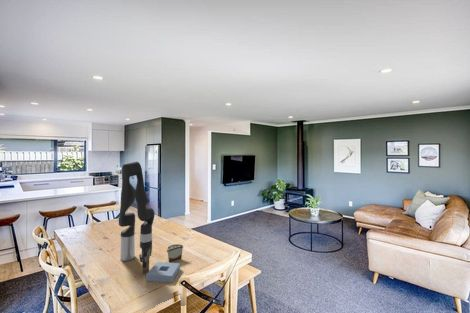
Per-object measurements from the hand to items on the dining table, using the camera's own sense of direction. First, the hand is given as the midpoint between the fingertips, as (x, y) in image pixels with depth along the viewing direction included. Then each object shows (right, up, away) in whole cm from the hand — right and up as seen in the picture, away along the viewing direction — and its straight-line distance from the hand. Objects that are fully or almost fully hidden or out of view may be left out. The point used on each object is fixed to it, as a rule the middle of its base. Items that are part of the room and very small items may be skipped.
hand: (145, 265), depth 151 cm
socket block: (+13, -5, -3) cm, 14 cm away
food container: (+13, -4, +18) cm, 23 cm away
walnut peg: (0, -4, 0) cm, 4 cm away
